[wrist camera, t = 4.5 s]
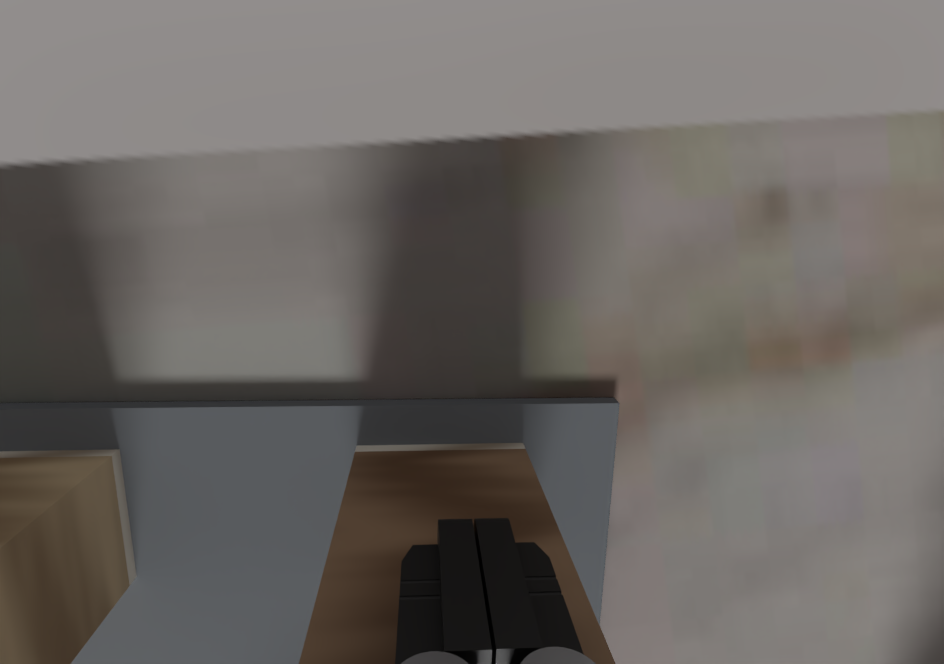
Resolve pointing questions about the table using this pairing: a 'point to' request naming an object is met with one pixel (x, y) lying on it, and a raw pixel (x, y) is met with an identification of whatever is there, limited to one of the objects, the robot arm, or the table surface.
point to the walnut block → (426, 540)
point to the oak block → (60, 551)
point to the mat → (287, 503)
